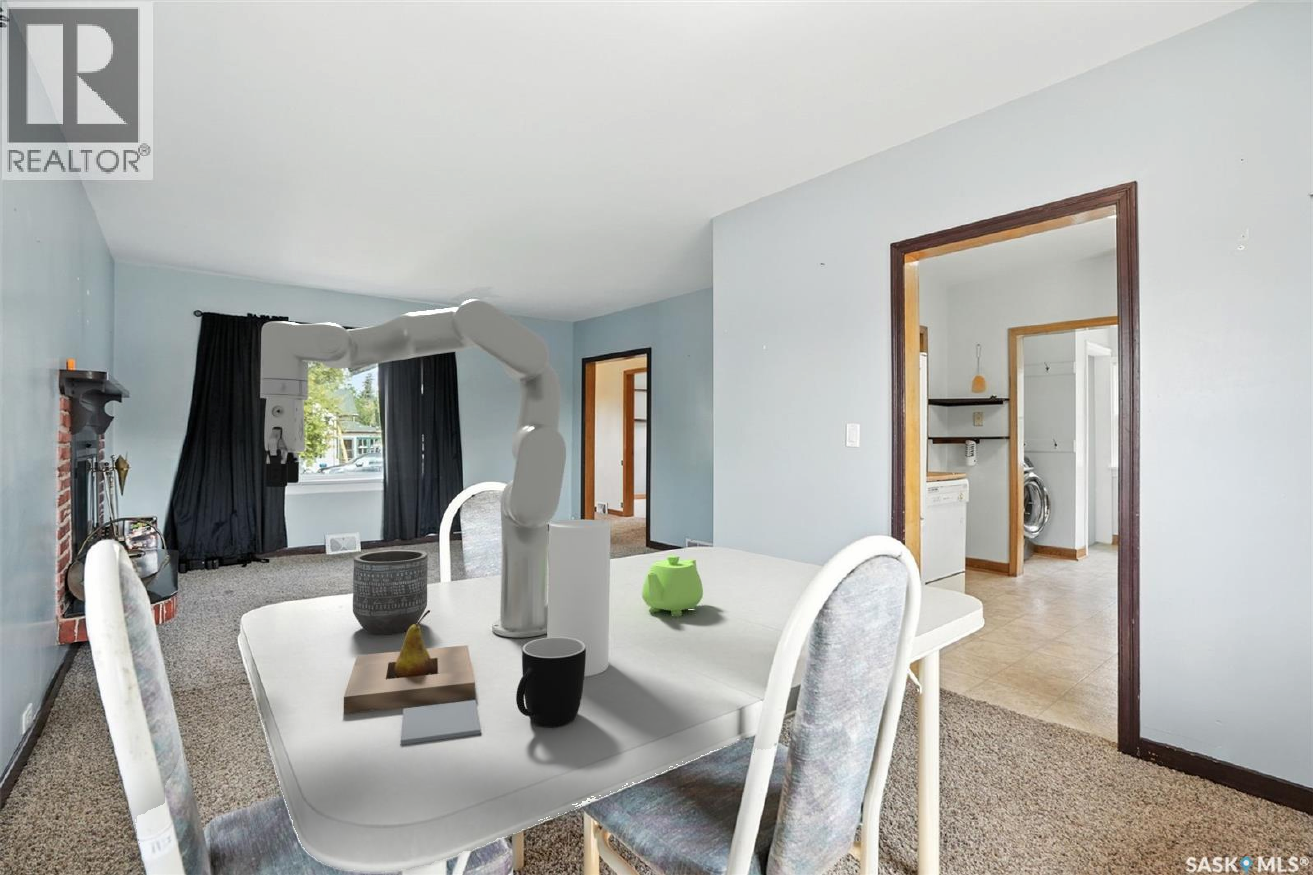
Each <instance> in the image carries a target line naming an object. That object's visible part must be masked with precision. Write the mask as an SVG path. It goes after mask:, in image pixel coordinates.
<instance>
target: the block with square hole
mask: <svg viewBox="0 0 1313 875" xmlns="http://www.w3.org/2000/svg"><path fill="white" fill-rule="evenodd" d="M426 649H427V651H428V653H429V655H430V658H431V662H432V668H431V672H430V674H429V675H423V676H414V677H404V678H396V676H395V664H396V661H397V659H398V657H399V655H400V652H401V650H400V651H390V652H389V651H388V652H380V653H379V652H378V653H368V654H358V655H356V657H355V661H354V664H353V667H352V670H351V673H350V676H349V679H348V682H347V686H346V689H345V691H344V695H343V715H348V714H349V715H350V714H357V713H369V712H374V711H375V712H376V711H384V710H389V709H390V710H391V709H399V708H400V709H401V708H411V707H419V706H427V705H436V704H444V703H453V702H461V701H469V700H476V699H475V698H476V697H475V696H476V694H475V692H476V691H475V689H476V688H475V687H476V682H475V676H474V670H473V666H472V660H471V655H470V649H469V645H468V644H467V645H456V646H446V647H445V646H443V647H434V648H426Z"/></svg>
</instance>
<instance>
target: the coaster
mask: <svg viewBox="0 0 1313 875" xmlns="http://www.w3.org/2000/svg"><path fill="white" fill-rule="evenodd" d="M477 706H478V705H477V700H476V699H470V700H462V701H454V702H445V703H437V704H429V705H420V706H412V707H404V708H403V710H402V720H401V731H400V732H401V733H400V746H402V745H409V744H417V743H423V742H431V741H439V740H445V739H447V740H448V739H453V738H460V737H467V736H468V737H469V736H475V735H481V734H482V730H481V722H480V717H479V713H478V711H479V710H478V707H477Z"/></svg>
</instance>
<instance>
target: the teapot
mask: <svg viewBox="0 0 1313 875" xmlns="http://www.w3.org/2000/svg"><path fill="white" fill-rule="evenodd" d="M666 557H667V559H665V560H659V561H656V562H654V563H652V564H651V567H650V568H649V570H648V572H647V575H646V576H645V579H644V582H643V586H642V592H641V593H642V594H641V595H642V599H643V601H644V602H645V605H646V606H648V607H650V608H649V610H648V612H651V613H658V612H660V611H661V610H665V611H671V614H670V616H672V615H673V616H672V617H675V616H679V617H681V616H680V615H682V616H683V612H682V611H683V610H685V609H696V606H697V605H699V603H700V602H701V600H702V598H703V595H704V589H703V584H702V580H701V576H700V574H699V572H698V568H697V561H696V559H693V558H688V559H686V560H680V555H679V556H678V555H668V556H666Z"/></svg>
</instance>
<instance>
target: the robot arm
mask: <svg viewBox="0 0 1313 875" xmlns="http://www.w3.org/2000/svg"><path fill="white" fill-rule="evenodd" d="M260 334H261V336H260V337H261V338H260V340H261V341H260V342H261V344H260V388H259V389H260V392H259V394H260V399H266V402H265V408H264V410H265V411H264V413H265V417H264V450H265V451H266V453H267V456H266V461H265V462H266V463H265V464H266V465H265V487H266V488H286V487H287V486H288V484H297V483H298V482H299V476H300V467H299V466H300V461H299V459H300V458H299V453H303V452H304V451H305V449H306V435H305V434H306V432H305V431H306V430H305V410H304V401H308V400H309V362H316V363H321V364H322V365H324V366H325V367H327V368H330V369H331V368H332V369H336V370H337V369H340V370H341V369H349V368H357V367H363V366H369V365H376V364H377V365H378V364H383V363H387V362H389V363H390V362H392V361H401V360H402V361H403V360H408V359H413V358H420V357H426V356H433V355H437V354H438V355H440V354H446V353H454V352H462V351H469V350H475V349H476V350H477V349H480V350H482V351H484V352H485V353H486V354H487V355H489V356H490V357H492V358H494V359H495V360H497V361H498V362H500V366H501V368H502V370H503V371H504V373H505V374H506V375H507V376H508V377H510V378H511V379H512V380H513V381H514V382H515V384H516V385H517V387H518V391H519V404H518V414H517V420H516V425H515V430H514V431H515V432H514V436H513V441H512V443H511V444H512V445H511V453H512V456H513V459H514V461H515V467H514V473H513V479H511V480H510V481H509V482H507V484H506V485H505V487H504V488H503V490H502V493H501V496H500V522H501V524H500V525H501V527H500V528H501V556H500V558H501V563H500V564H501V565H500V567H501V568H500V614H499V615H500V616H499V617H500V619H497V620H495V621H494V622H493V623H492V626H491V627H492V628H491V629H492V632H493V633H494V634H496V635H498V636H502V637H505V638H506V637H507V638H531V637H538V636H542V635H545V634H546V635H547V621H548V561H549V524H548V523H550V521H552V520H553V518H554V516H555V515H556V513H557V511H558V507H559V504H560V500H561V494H562V493H561V492H562V487H563V480H564V474H565V467H566V460H567V459H566V458H567V446H566V442H565V440H564V437H563V435H562V434H561V433H560V431H559V423H560V415H561V413H560V412H561V406H562V390H561V385H560V382H559V378H558V375H557V374H556V371H555V370H554V368H553V367H552V365H551V364H550V363H549V362H550V350H549V346H548V345H547V343H546V342H545V341H544V339H542V337H541V336H540V335H538V334H537V333H536V332H534V331H532V330H531V329H530V328H528V327H526V326H525V325H524V324H521V323H520V322H519V321H518V320H516V319H514V318H513V317H511V316H510V315H509V314H507V313H505V312H503V310H501V309H499V308H498V307H496V306H494V305H493V304H491V303H490V302H487V301H485V300H483V299H477V298H476V299H475V298H474V299H473V298H472V299H469V300H468V299H467V300H466V301H464V302H462V303H461V304H460V305H458V307H449V308H444V309H441V308H440V309H435V310H433V309H432V310H426V311H425V310H424V311H416V312H408V313H404V314H401V315H398V316H397V317H395V318H393V319H392V320H389V321H387V322H384V323H381V324H378V325H373V326H368V327H367V326H366V327H361V328H359V327H358V328H352V329H350V328H349V329H346V328H344V327H343V326H341V325H339V324H336V323H332V322H320V323H319V322H318V323H296V322H290V321H279V320H278V321H276V320H275V321H268V322H266V323H264V324H263V325H262V327H261V333H260Z"/></svg>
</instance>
